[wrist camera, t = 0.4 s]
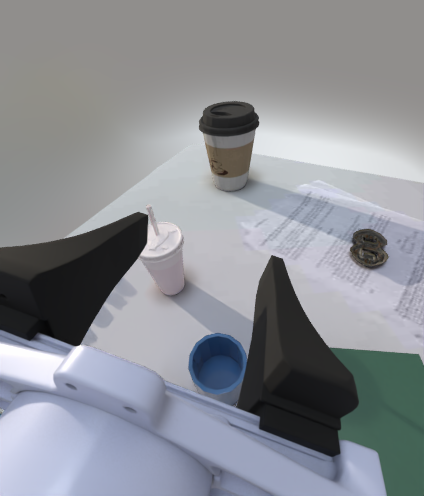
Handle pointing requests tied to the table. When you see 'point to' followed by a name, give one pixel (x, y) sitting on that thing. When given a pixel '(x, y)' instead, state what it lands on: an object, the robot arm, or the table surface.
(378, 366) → the flat green board
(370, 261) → the corroded twin loop
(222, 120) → the coffee cup
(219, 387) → the blue cup
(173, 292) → the smoothie
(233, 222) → the table surface
